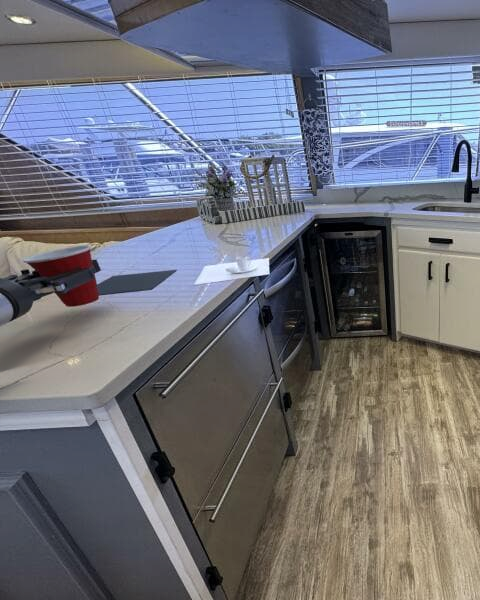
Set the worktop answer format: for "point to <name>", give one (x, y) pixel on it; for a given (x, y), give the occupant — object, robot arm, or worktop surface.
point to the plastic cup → (64, 262)
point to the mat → (132, 282)
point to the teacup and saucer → (234, 270)
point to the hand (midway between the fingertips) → (78, 266)
